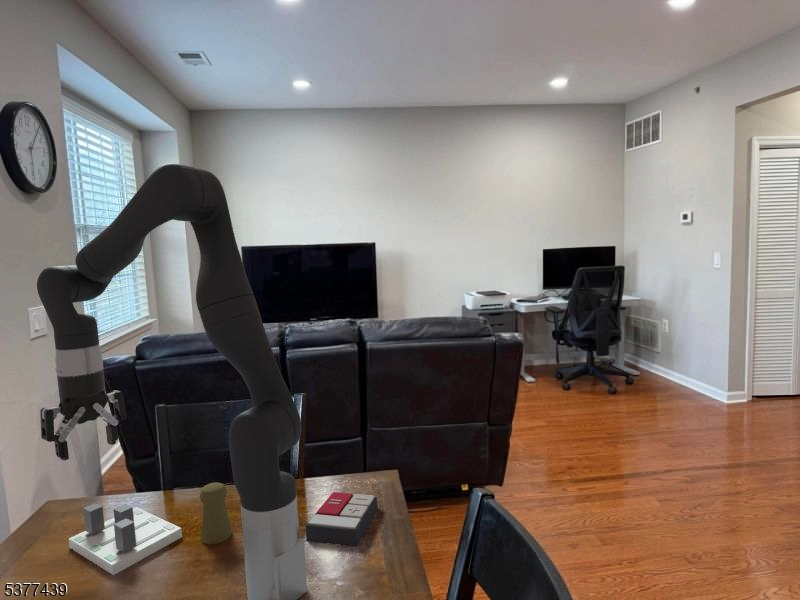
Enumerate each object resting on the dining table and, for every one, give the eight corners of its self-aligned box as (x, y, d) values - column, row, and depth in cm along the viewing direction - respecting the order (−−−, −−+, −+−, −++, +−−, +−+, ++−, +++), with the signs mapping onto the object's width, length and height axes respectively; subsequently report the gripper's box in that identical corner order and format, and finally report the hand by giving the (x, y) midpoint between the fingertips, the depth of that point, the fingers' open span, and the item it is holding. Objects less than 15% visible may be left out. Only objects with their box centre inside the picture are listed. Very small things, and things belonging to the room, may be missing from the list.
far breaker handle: (104, 529, 103) (102, 506, 103) (92, 535, 101) (90, 511, 101) (98, 525, 105) (95, 502, 104) (85, 531, 103) (83, 508, 102)
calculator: (377, 493, 112) (356, 526, 98) (378, 512, 113) (357, 548, 98) (332, 489, 115) (304, 521, 100) (332, 507, 115) (305, 542, 101)
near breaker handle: (136, 546, 97) (134, 522, 96) (124, 553, 95) (121, 528, 94) (128, 542, 98) (126, 518, 98) (116, 548, 96) (113, 524, 96)
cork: (221, 545, 100) (217, 493, 99) (194, 543, 101) (190, 491, 100) (237, 528, 106) (233, 479, 105) (211, 526, 107) (207, 477, 106)
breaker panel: (182, 537, 104) (181, 527, 103) (113, 575, 92) (112, 564, 92) (137, 515, 113) (136, 506, 113) (69, 547, 101) (68, 538, 101)
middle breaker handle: (134, 530, 102) (132, 507, 102) (123, 536, 100) (120, 512, 100) (127, 526, 104) (125, 503, 103) (115, 532, 102) (113, 509, 101)
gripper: (45, 381, 87) (56, 469, 89) (128, 363, 99) (135, 442, 100) (28, 376, 91) (38, 460, 93) (109, 360, 103) (117, 435, 105)
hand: (89, 451), depth 97 cm, fingers open, 8 cm apart
